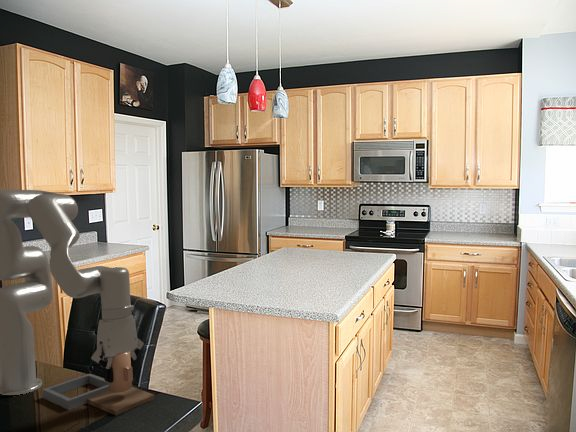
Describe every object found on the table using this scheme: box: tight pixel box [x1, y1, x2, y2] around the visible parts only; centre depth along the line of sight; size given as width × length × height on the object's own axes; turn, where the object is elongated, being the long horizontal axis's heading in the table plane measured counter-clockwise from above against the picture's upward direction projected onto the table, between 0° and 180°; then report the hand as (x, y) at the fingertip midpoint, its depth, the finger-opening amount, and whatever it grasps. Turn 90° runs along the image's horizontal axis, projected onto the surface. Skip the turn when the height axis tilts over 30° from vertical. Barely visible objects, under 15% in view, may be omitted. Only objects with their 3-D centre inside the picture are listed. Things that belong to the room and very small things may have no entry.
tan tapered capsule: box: [109, 351, 134, 393], centre depth 129 cm, size 6×9×10 cm, turn 53°
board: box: [86, 386, 156, 416], centre depth 130 cm, size 14×12×1 cm
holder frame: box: [42, 373, 109, 411], centre depth 135 cm, size 14×14×2 cm
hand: (119, 377), depth 130 cm, fingers closed on tan tapered capsule, 6 cm apart
